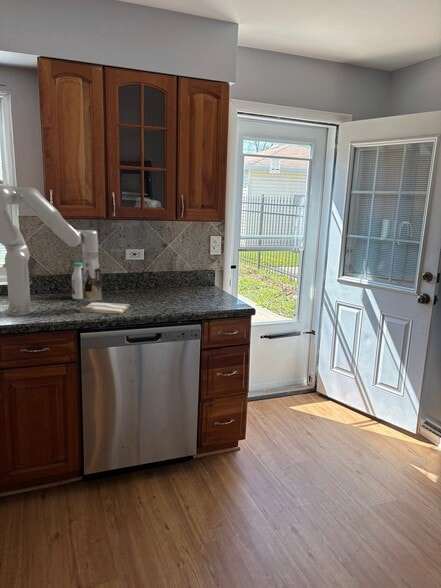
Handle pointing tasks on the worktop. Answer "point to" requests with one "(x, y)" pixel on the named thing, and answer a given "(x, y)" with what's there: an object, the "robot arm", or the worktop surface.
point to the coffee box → (96, 287)
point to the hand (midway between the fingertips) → (91, 289)
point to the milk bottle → (77, 282)
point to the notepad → (105, 308)
